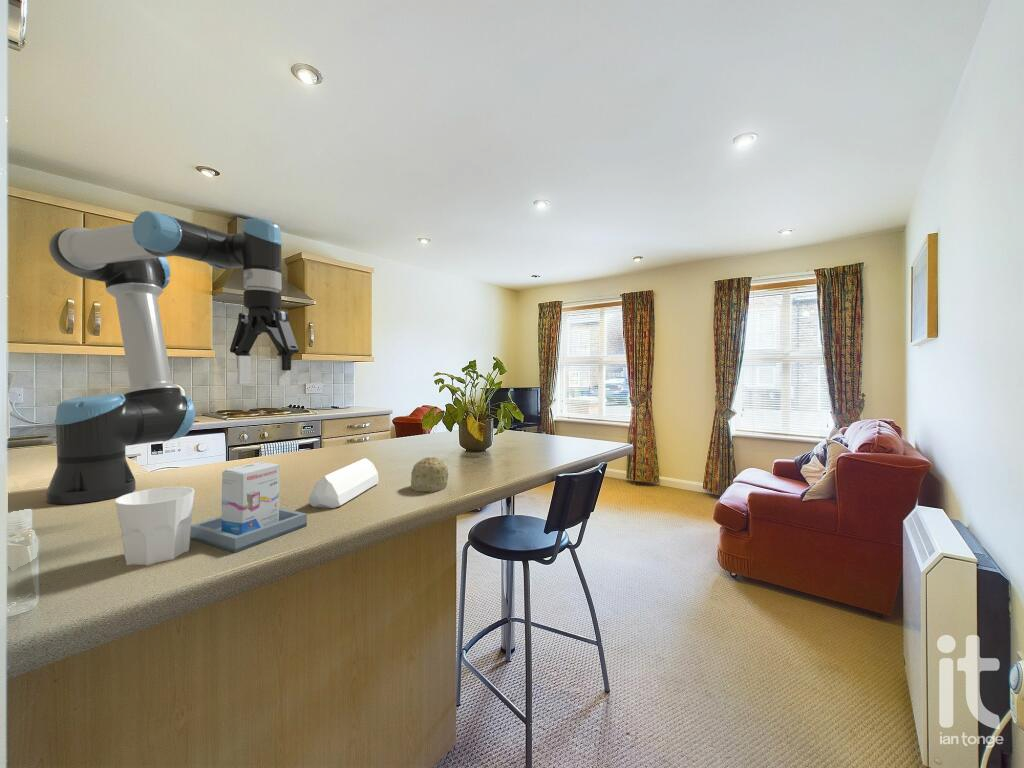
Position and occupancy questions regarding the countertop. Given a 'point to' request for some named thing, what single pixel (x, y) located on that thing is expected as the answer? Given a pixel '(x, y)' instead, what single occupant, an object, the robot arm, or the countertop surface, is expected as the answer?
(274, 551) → the countertop surface
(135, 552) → the cup
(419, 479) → the decorative object
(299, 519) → the tray
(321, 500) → the crystal
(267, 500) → the ink box
